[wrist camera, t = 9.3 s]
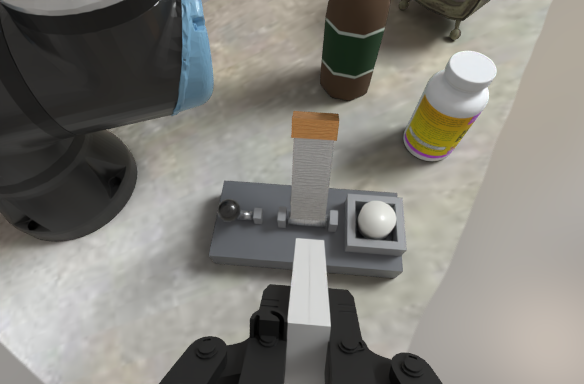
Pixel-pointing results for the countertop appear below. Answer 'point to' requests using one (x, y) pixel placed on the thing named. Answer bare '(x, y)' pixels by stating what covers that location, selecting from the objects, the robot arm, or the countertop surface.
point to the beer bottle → (351, 45)
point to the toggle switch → (233, 211)
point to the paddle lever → (311, 166)
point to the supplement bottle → (449, 105)
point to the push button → (376, 220)
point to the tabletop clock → (450, 10)
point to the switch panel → (306, 231)
